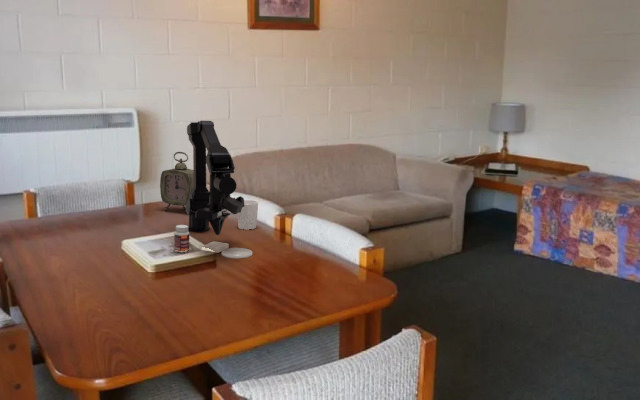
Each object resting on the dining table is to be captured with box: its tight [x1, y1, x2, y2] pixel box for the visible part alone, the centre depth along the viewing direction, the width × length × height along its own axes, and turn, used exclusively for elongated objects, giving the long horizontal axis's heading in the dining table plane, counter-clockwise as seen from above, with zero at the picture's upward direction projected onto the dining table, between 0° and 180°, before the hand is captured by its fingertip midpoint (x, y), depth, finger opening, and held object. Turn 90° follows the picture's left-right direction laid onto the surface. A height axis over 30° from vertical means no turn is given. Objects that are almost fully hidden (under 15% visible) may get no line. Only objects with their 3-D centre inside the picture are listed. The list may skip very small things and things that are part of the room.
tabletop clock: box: [159, 151, 194, 212], centre depth 250 cm, size 14×9×25 cm, turn 68°
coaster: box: [221, 247, 253, 259], centre depth 197 cm, size 10×10×1 cm
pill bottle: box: [173, 224, 190, 251], centre depth 197 cm, size 5×5×8 cm
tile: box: [201, 240, 230, 254], centre depth 202 cm, size 6×2×7 cm
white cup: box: [237, 199, 259, 231], centre depth 230 cm, size 8×8×10 cm
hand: (217, 234), depth 202 cm, fingers closed
